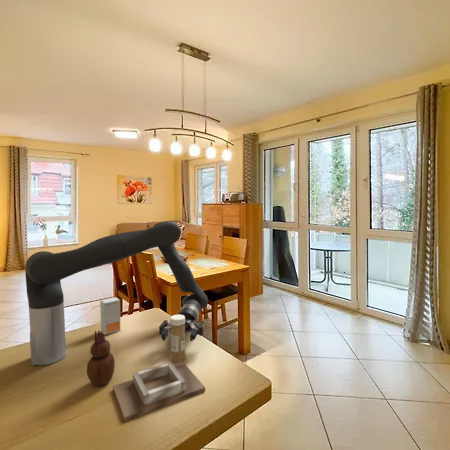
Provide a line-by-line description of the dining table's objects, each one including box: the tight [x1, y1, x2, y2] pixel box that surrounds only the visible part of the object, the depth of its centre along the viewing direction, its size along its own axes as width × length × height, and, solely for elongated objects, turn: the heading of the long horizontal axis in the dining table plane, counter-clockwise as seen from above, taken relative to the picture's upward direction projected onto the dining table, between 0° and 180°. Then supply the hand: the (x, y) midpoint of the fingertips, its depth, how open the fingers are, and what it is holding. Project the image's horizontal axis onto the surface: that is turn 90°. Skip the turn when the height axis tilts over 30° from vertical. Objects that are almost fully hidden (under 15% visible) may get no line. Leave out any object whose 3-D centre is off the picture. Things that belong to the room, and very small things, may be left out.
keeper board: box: [112, 362, 206, 422], centre depth 75 cm, size 20×13×4 cm, turn 121°
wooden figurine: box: [86, 329, 116, 387], centre depth 78 cm, size 7×6×15 cm
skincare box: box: [99, 296, 121, 336], centre depth 110 cm, size 6×4×12 cm
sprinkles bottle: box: [169, 314, 187, 363], centre depth 90 cm, size 5×5×13 cm
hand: (177, 338), depth 89 cm, fingers open, 8 cm apart
